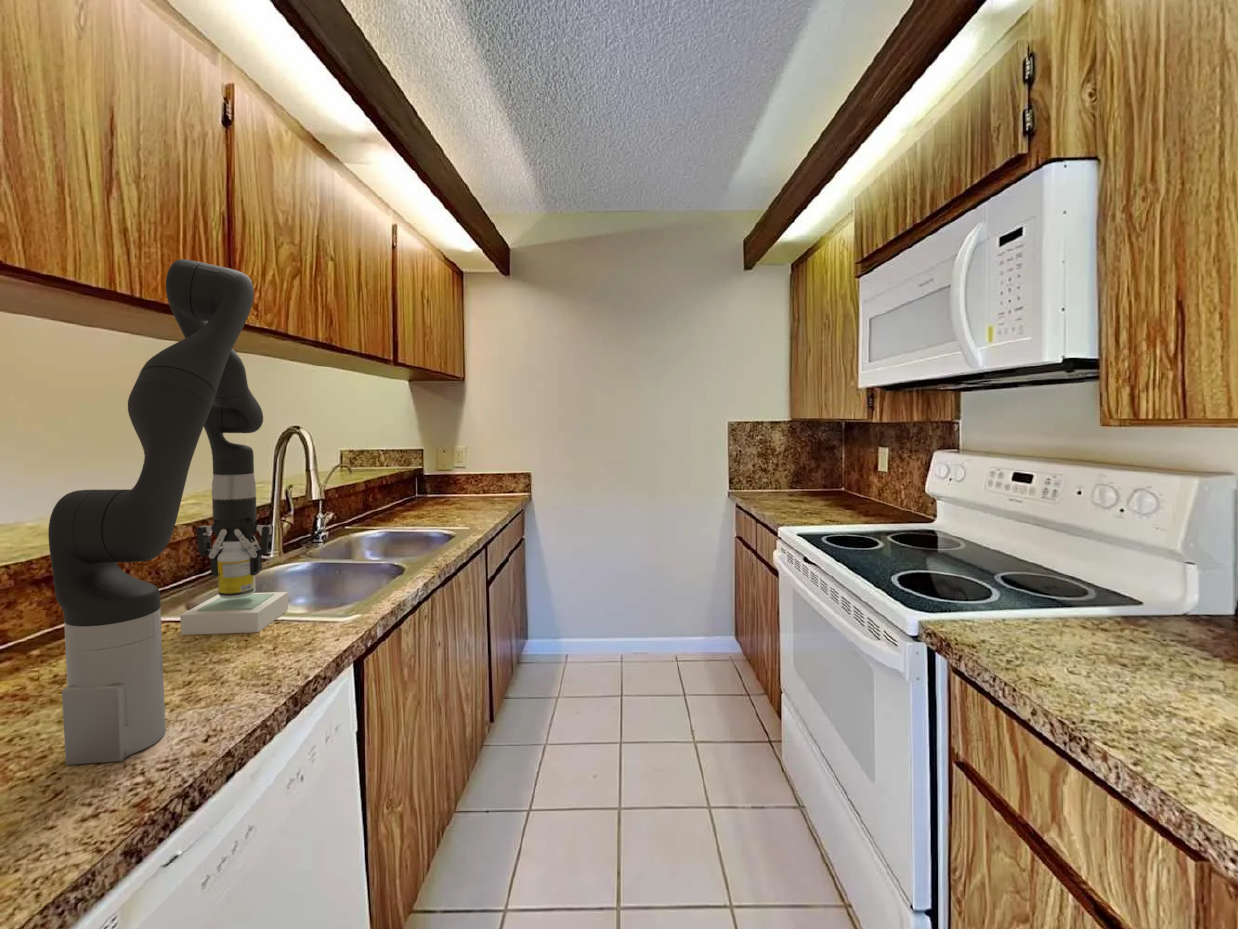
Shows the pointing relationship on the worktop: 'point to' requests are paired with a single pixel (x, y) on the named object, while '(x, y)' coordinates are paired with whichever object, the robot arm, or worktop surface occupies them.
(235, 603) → the stand
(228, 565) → the pill bottle
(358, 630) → the worktop surface
